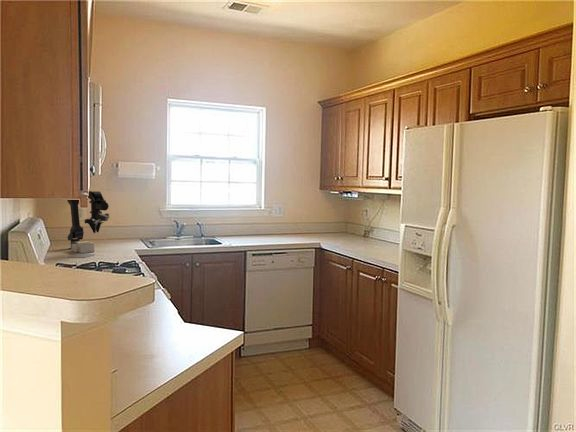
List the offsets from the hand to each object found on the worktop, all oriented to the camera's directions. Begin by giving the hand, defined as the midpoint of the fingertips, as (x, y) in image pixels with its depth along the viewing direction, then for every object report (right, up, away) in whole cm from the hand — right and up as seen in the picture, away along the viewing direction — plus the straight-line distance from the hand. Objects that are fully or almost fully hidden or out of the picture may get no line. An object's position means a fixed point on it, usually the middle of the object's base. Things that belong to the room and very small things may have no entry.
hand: (96, 232), depth 330 cm
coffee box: (-4, -10, -5) cm, 12 cm away
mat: (-3, -14, -17) cm, 23 cm away
